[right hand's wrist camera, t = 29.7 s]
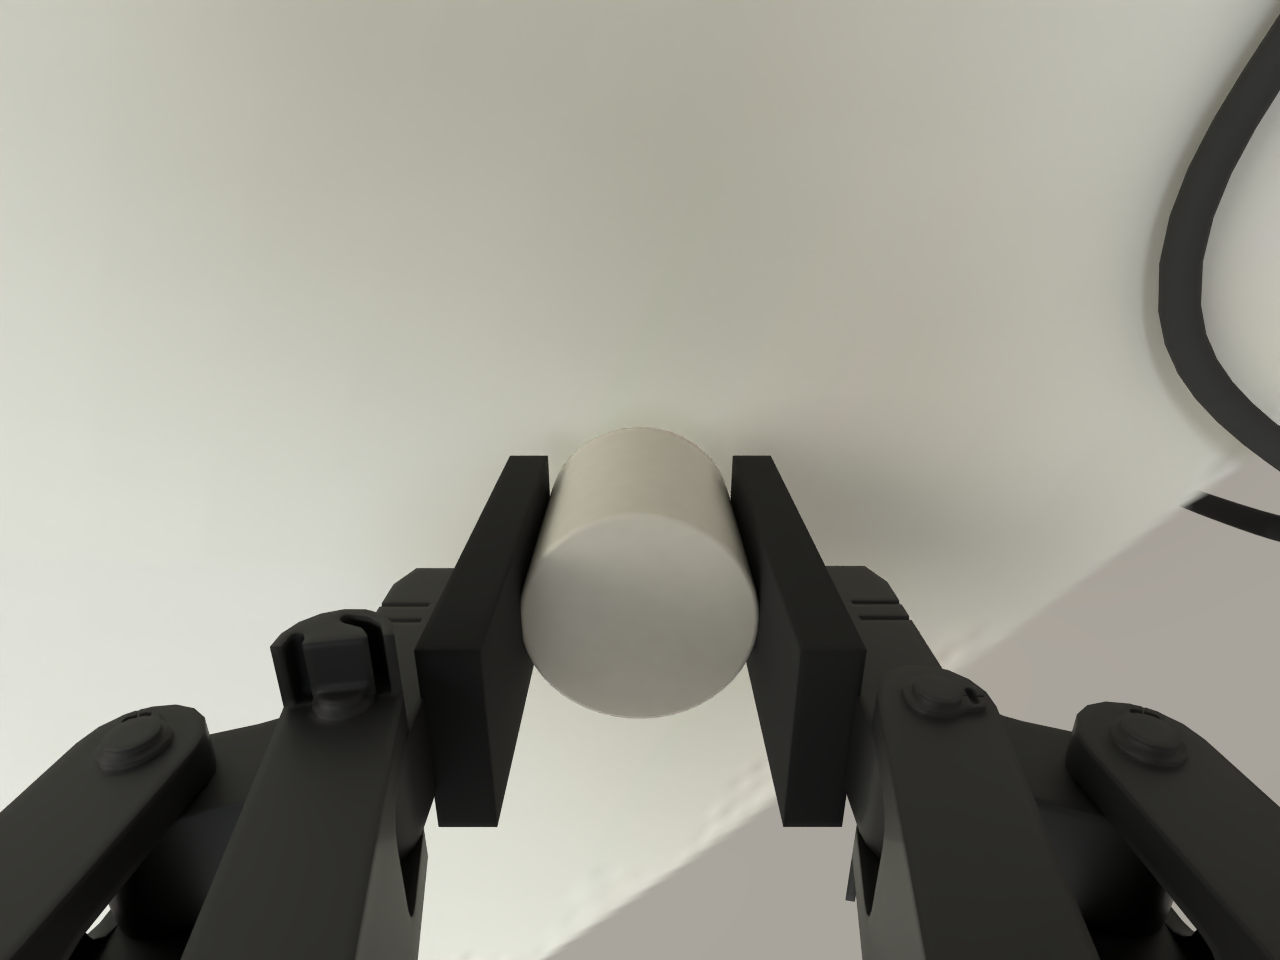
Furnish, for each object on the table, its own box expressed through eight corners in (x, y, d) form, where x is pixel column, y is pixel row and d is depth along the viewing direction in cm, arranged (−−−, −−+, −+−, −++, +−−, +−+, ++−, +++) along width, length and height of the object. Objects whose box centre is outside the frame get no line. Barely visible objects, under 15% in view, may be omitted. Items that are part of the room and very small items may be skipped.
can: (763, 476, 15) (807, 579, 11) (675, 615, 16) (686, 751, 12) (599, 393, 14) (583, 472, 10) (521, 545, 15) (479, 666, 11)
